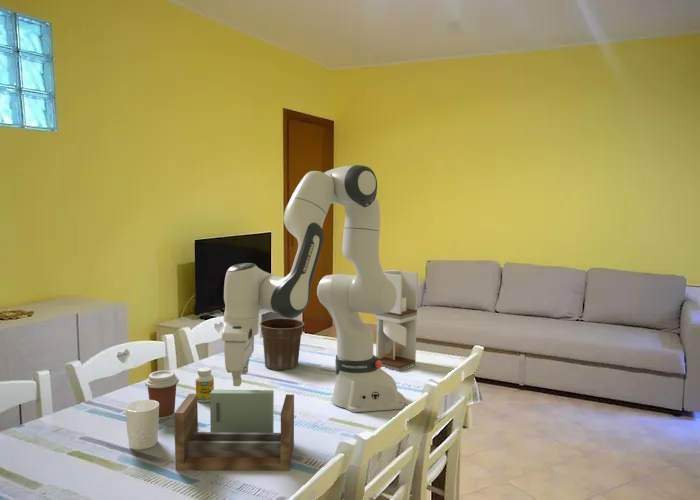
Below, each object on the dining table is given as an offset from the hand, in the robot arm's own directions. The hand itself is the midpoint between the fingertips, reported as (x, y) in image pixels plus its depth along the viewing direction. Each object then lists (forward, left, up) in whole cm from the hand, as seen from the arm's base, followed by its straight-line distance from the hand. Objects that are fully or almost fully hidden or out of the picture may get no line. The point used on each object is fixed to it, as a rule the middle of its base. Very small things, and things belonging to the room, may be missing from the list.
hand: (240, 379), depth 140 cm
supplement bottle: (+16, -25, -16) cm, 34 cm away
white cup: (+24, +5, -16) cm, 29 cm away
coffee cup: (+25, -13, -16) cm, 32 cm away
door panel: (0, 0, -15) cm, 15 cm away
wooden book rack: (-1, +12, -15) cm, 19 cm away
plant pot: (-4, -59, -16) cm, 61 cm away
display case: (-46, -61, -16) cm, 78 cm away
